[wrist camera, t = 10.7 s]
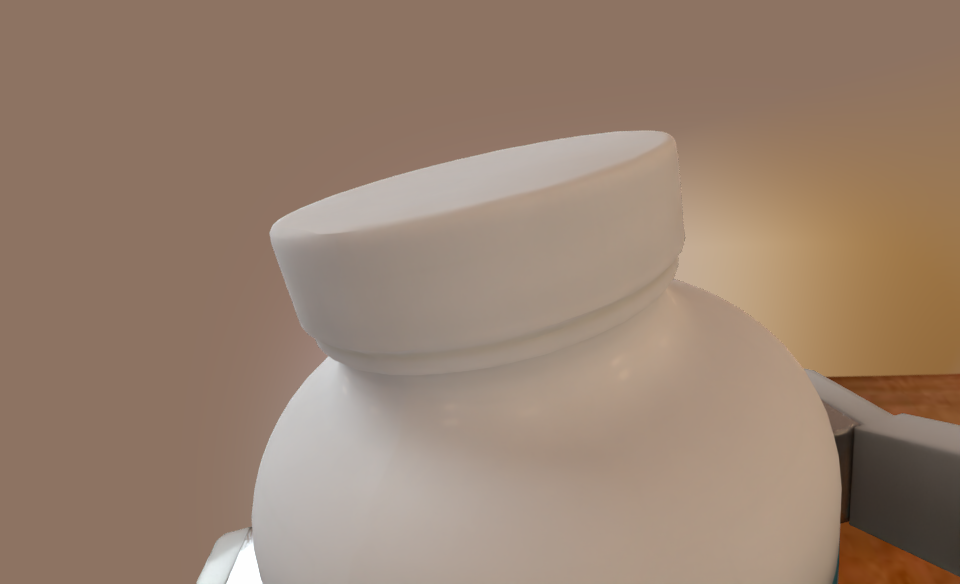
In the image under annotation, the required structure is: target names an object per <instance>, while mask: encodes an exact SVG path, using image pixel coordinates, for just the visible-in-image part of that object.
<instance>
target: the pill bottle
mask: <svg viewBox="0 0 960 584" xmlns="http://www.w3.org/2000/svg"><path fill="white" fill-rule="evenodd" d="M680 183H681V182H680V173H679V161H678V151H677V147H676V143H675V139H674V138H673V137H672V136H671V135H670V134H668V133H665V132H660V131H621V132H609V133H600V134H592V135H584V136H576V137H570V138H564V139H558V140H551V141H546V142H540V143H535V144H529V145H524V146H519V147H514V148H508V149H503V150H498V151H494V152H489V153H485V154H481V155H476V156H472V157H467V158H463V159H459V160H454V161H450V162H446V163H443V164H438V165H434V166H431V167H427V168H423V169H419V170H415V171H411V172H407V173H404V174H401V175H397V176H394V177H390V178H387V179H383V180H379V181H376V182H373V183H370V184H367V185H363V186H361V187H357V188H354V189H351V190H348V191H345V192H342V193H339V194H336V195H333V196H330V197H328V198H325V199H323V200H320V201H317V202H315V203H312V204H310V205H307V206H305V207H302V208H300V209H298V210H296V211H294V212H292V213H290V214H288V215H286V216H284V217H283V218H281V219H279V220H278V221H277V222H275V223H274V224H273V226H272V228H271V230H270V238H271V244H272V246H273V250H274V252H275V255H276V258H277V261H278V263H279V266H280V269H281V272H282V275H283V277H284V280H285V283H286V286H287V288H288V291H289V294H290V297H291V300H292V303H293V305H294V308H295V311H296V314H297V317H298V320H299V322H300V325H301V326H302V328H303V329H304V330H305V331H306V332H307V334H308V335H310V336H312V337H314V338H315V340H316V342H317V344H318V346H319V348H320V349H321V350H322V351H323V352H324V353H325V354H327V355H328V357H327V358H326V359H325V361H323V363H322V364H321V365H320V366H319V367H318V368H317V369H316V370H315V371H314V372H313V373H312V374H311V375H310V376H309V377H308V378H307V379H306V380H305V381H304V383H303V384H302V385H301V387H300V388H299V389H298V391H297V392H296V393H295V395H294V396H293V397H292V399H291V400H290V402H289V403H288V405H287V406H286V408H285V410H284V411H283V413H282V415H281V416H280V418H279V420H278V422H277V424H276V426H275V428H274V430H273V432H272V435H271V437H270V439H269V441H268V444H267V447H266V449H265V452H264V454H263V457H262V460H261V464H260V467H259V471H258V476H257V481H256V485H255V491H254V500H253V509H252V530H253V547H254V553H255V557H256V562H257V566H258V570H259V574H260V579H261V582H262V584H838V572H839V540H840V515H841V493H842V486H841V476H840V465H839V455H838V451H837V447H836V443H835V439H834V434H833V431H832V428H831V424H830V421H829V417H828V414H827V412H826V409H825V407H824V405H823V403H822V401H821V399H820V397H819V395H818V393H817V391H816V389H815V388H814V386H813V384H812V382H811V381H810V379H809V377H808V375H807V374H806V372H805V370H804V369H803V368H802V367H801V365H800V364H799V363H798V361H797V360H796V359H795V358H794V356H793V355H792V354H791V353H790V352H789V350H788V349H787V348H786V347H785V345H784V344H783V343H782V342H781V341H780V340H779V339H778V338H776V337H775V336H774V335H773V334H772V333H771V332H770V331H769V330H768V329H767V328H765V327H764V326H763V325H762V324H761V323H759V322H758V321H756V320H755V319H754V318H753V317H751V316H750V315H748V314H747V313H746V312H744V311H743V310H741V309H740V308H738V307H737V306H734V305H733V304H731V303H730V302H728V301H726V300H724V299H722V298H721V297H719V296H717V295H714V294H712V293H710V292H708V291H706V290H704V289H701V288H698V287H696V286H693V285H690V284H687V283H685V282H682V281H679V280H676V279H674V276H675V274H676V271H677V268H678V255H679V254H680V253H681V251H682V248H683V245H684V241H685V232H684V224H683V210H682V195H681V184H680Z"/></svg>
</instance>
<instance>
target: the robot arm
mask: <svg viewBox="0 0 960 584" xmlns="http://www.w3.org/2000/svg"><path fill="white" fill-rule="evenodd" d="M804 370H805V372H806V374H807V375H808V377H809V379H810V381H811V382H812V384H813V386H814V388H815V389H816V391H817V393H818V395H819V397H820V399H821V401H822V403H823V405H824V407H825V409H826V412H827V414H828V417H829V421H830V424H831V428H832V431H833V434H834V439H835V443H836V447H837V451H838V455H839V465H840V476H841V486H842V493H841V515H840V524H841V523H845V522H848V521H849V524H850V525H852V526H854V527H856V528H858V529H860V530H862V531H865V532H867V533H869V534H871V535H873V536H875V537H877V538H879V539H881V540H883V541H886V542H888V543H890V544H892V545H894V546H896V547H898V548H900V549H902V550H905V551H907V552H909V553H911V554H913V555H915V556H917V557H919V558H921V559H923V560H926V561H928V562H930V563H932V564H934V565H936V566H938V567H940V568H942V569H944V570H947V571H949V572H951V573H953V574H955V575H957V576H959V577H960V425H955V424H951V423H946V422H941V421H937V420H932V419H927V418H922V417H918V416H913V415H908V414H904V413H902V414H899V415H895V416H893V415H892V414H890V413H888V412H886V411H885V410H883V409H881V408H879V407H877V406H876V405H874V404H872V403H870V402H869V401H867V400H865V399H863V398H862V397H860V396H858V395H856V394H855V393H853V392H851V391H849V390H847V389H846V388H844V387H842V386H840V385H839V384H837V383H835V382H833V381H832V380H830V379H828V378H826V377H825V376H823V375H821V374H819V373H817V372H816V371H814V370H808V369H804ZM196 584H262V582H261V579H260V574H259V570H258V566H257V562H256V557H255V553H254V547H253V530H252V527H248V528H244V529H241V530H237V531H233V532H229V533H226V534H224V535H223V536H222V537H220V538H219V539H218V540H217V541H216V543H215V545H214V547H213V550H212V552H211V554H210V556H209V558H208V560H207V562H206V564H205V566H204V568H203V570H202V572H201V574H200V576H199V578H198V580H197V583H196Z"/></svg>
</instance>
